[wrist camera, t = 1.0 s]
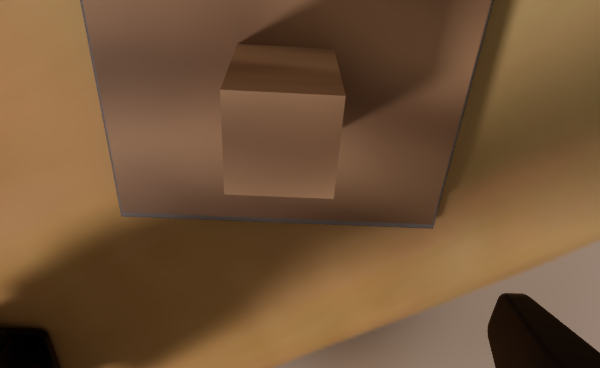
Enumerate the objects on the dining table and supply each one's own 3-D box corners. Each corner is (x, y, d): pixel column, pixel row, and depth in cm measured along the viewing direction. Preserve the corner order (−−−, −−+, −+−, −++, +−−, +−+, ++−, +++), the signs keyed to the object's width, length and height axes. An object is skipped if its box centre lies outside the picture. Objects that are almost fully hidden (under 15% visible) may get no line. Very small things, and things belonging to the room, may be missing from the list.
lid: (426, 211, 22) (462, 298, 17) (129, 199, 21) (82, 285, 17) (500, -79, 15) (588, -64, 11) (75, -106, 15) (-24, -104, 10)
